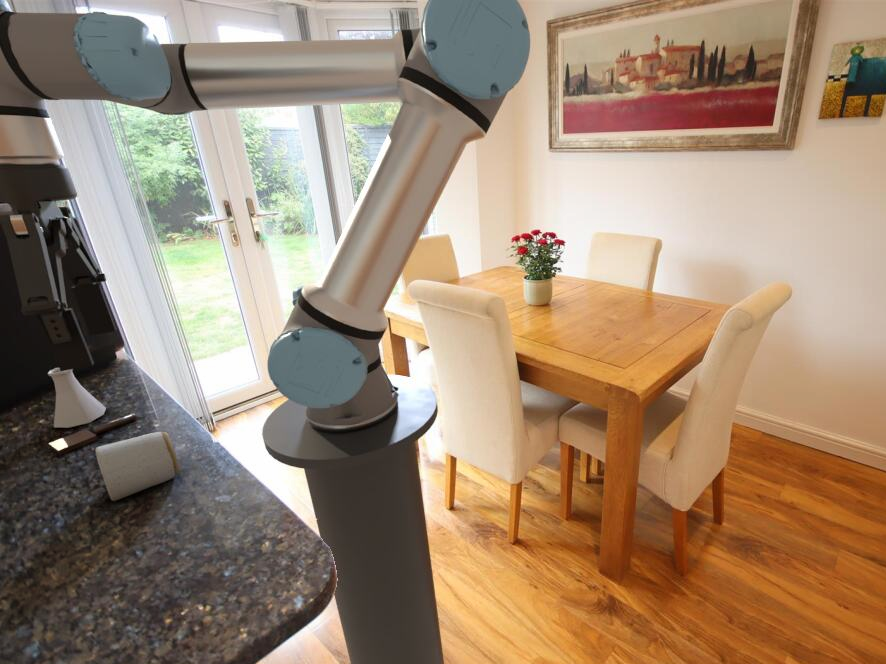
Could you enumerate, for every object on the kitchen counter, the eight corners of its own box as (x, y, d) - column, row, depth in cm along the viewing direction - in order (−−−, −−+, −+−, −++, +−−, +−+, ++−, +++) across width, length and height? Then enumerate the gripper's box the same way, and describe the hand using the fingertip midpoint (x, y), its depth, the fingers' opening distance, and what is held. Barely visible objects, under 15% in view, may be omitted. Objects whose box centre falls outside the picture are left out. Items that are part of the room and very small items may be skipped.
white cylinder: (187, 482, 66) (171, 436, 64) (115, 511, 61) (94, 462, 58) (172, 453, 73) (157, 411, 71) (106, 478, 68) (87, 433, 65)
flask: (92, 425, 82) (71, 375, 79) (45, 432, 81) (20, 381, 77) (114, 406, 89) (95, 359, 85) (70, 412, 87) (49, 364, 84)
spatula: (131, 415, 85) (129, 409, 85) (142, 421, 83) (140, 415, 83) (50, 447, 76) (47, 441, 76) (60, 455, 74) (57, 448, 74)
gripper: (13, 165, 57) (78, 326, 65) (-101, 162, 37) (12, 396, 45) (91, 163, 61) (143, 316, 68) (25, 159, 40) (110, 377, 48)
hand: (92, 348), depth 56 cm, fingers open, 13 cm apart
